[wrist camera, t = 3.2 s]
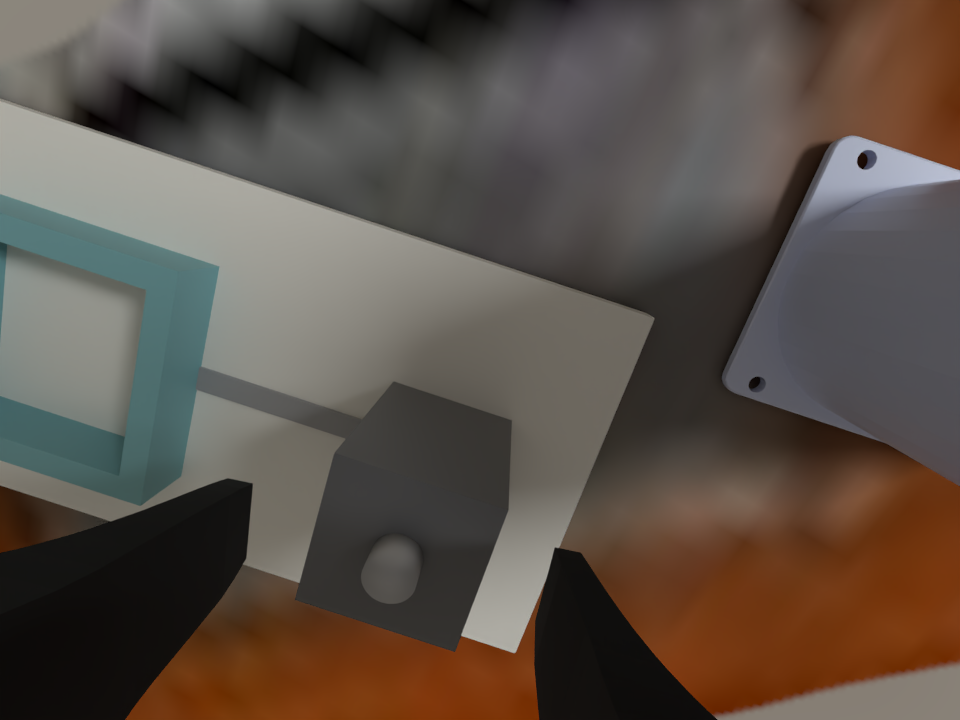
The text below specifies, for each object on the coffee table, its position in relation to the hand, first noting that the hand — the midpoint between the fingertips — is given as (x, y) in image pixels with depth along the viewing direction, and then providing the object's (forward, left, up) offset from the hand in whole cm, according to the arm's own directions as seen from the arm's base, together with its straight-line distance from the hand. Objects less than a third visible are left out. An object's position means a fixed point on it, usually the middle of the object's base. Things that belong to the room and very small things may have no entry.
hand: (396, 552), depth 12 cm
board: (+6, 0, -6) cm, 9 cm away
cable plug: (0, 0, -5) cm, 5 cm away
